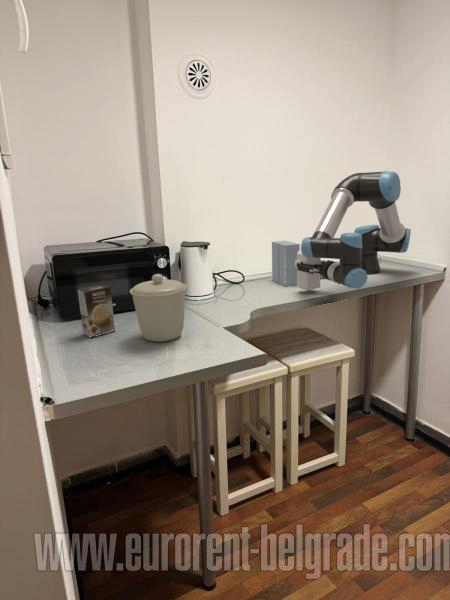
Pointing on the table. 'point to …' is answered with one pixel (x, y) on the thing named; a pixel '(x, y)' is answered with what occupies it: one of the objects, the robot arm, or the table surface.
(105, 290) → the coffee box
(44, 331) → the table surface
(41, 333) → the table surface
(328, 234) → the robot arm
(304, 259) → the milk carton
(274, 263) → the pack
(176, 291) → the canister
